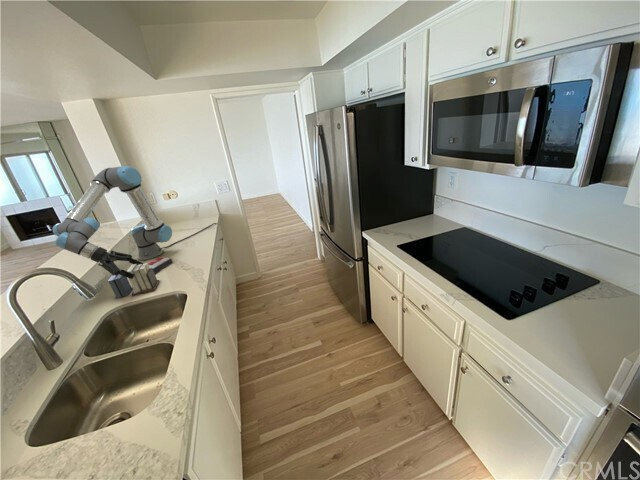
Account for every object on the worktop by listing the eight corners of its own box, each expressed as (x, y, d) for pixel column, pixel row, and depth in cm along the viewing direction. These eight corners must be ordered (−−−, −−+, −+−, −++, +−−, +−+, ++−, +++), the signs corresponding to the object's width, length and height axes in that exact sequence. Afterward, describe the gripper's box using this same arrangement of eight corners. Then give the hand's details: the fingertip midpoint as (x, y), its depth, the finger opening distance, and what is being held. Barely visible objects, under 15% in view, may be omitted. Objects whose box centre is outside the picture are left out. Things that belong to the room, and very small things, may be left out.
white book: (141, 284, 152) (132, 264, 147) (145, 283, 153) (136, 263, 147) (135, 292, 144) (125, 272, 139) (139, 291, 144) (130, 271, 139)
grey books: (121, 291, 150) (113, 274, 145) (132, 288, 151) (124, 272, 146) (116, 298, 143) (107, 281, 139) (127, 295, 145) (119, 278, 140)
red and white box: (171, 257, 176) (152, 267, 163) (173, 263, 177) (154, 274, 164) (158, 257, 179) (139, 267, 166) (160, 262, 181) (141, 273, 167)
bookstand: (139, 285, 153) (129, 265, 148) (159, 281, 155) (150, 260, 150) (132, 296, 143) (121, 274, 138) (154, 291, 146) (144, 269, 140)
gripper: (102, 248, 147) (142, 265, 156) (77, 269, 125) (125, 288, 134) (108, 238, 146) (148, 255, 155) (85, 257, 124) (133, 276, 133)
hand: (138, 270), depth 145 cm, fingers open, 13 cm apart
